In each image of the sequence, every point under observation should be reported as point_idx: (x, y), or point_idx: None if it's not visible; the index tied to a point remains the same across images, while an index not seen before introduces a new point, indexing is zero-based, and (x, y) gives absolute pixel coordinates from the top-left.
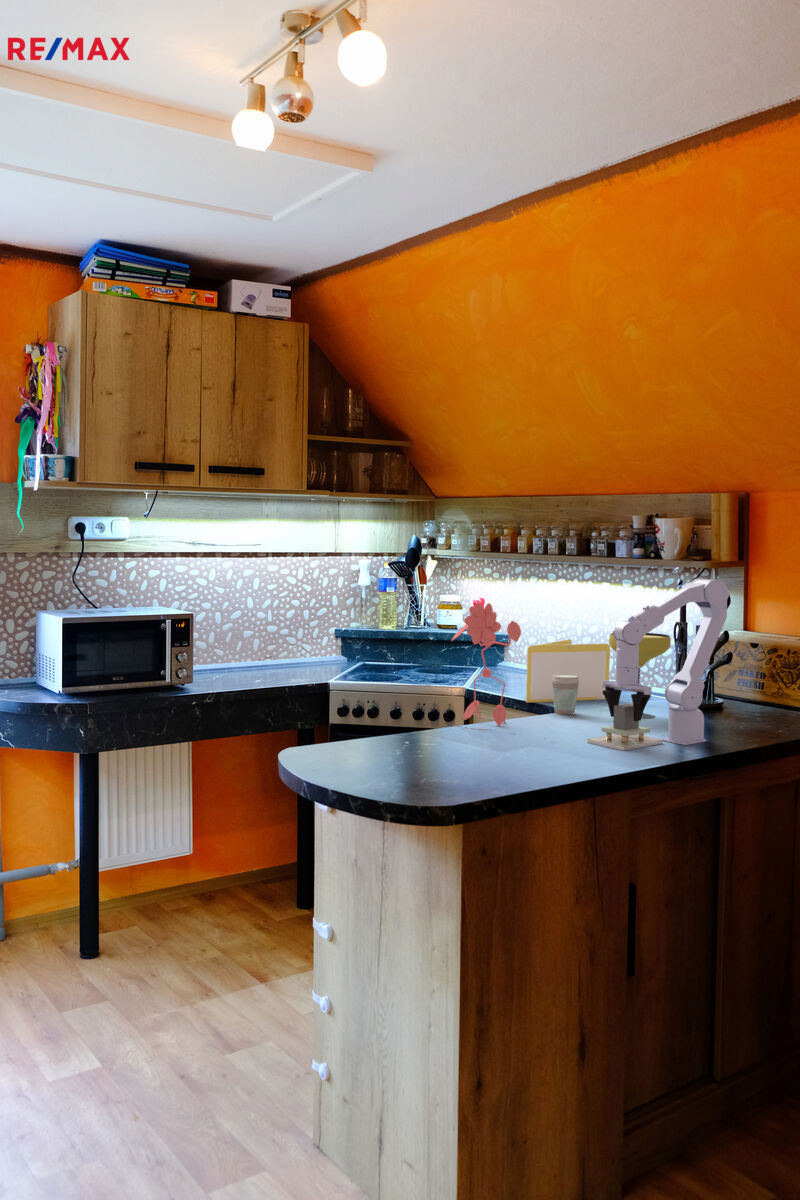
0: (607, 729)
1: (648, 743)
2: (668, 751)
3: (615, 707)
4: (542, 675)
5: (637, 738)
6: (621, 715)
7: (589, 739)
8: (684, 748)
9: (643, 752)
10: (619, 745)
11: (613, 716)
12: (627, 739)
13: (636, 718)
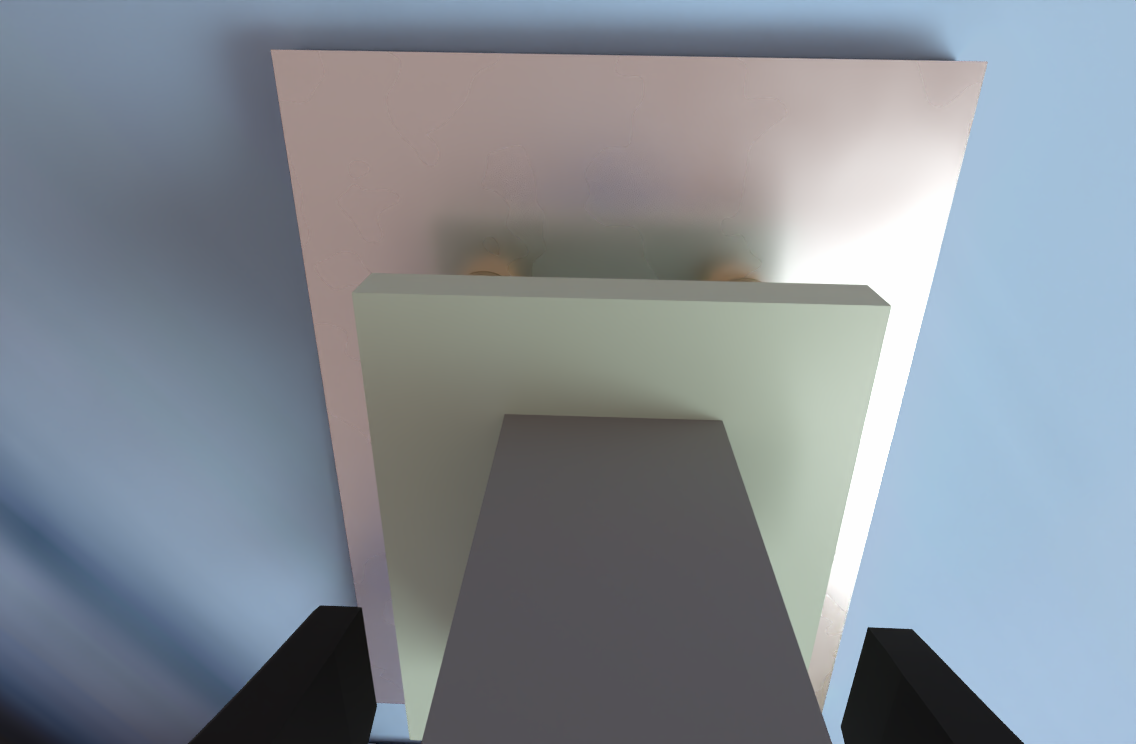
0: (757, 300)
1: (349, 515)
2: (67, 449)
3: (772, 734)
4: None
5: None
6: (551, 577)
7: (944, 67)
8: (135, 648)
9: (112, 186)
10: (372, 76)
11: (866, 651)
12: None
13: (286, 646)
